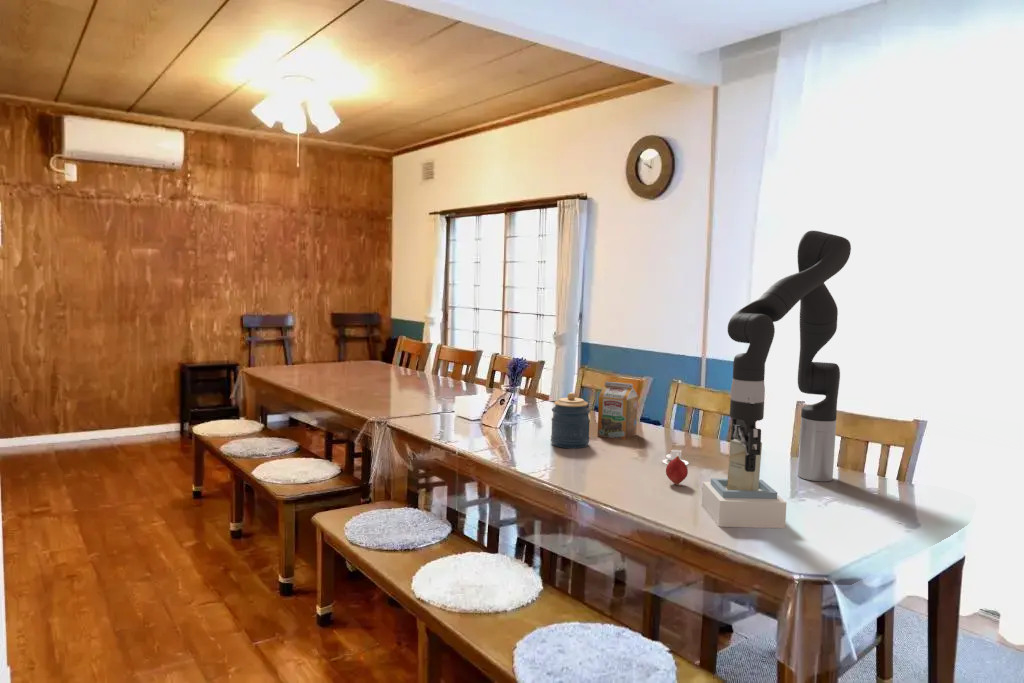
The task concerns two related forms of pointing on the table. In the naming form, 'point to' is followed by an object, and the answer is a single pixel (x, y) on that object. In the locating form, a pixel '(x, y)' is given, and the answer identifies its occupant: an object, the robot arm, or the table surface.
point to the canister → (570, 423)
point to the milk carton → (617, 411)
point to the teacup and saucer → (674, 456)
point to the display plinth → (743, 505)
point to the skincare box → (741, 469)
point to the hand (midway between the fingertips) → (743, 466)
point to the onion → (676, 470)
